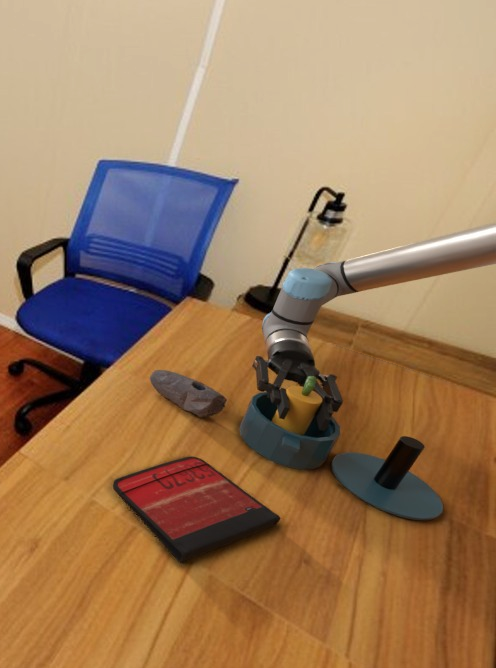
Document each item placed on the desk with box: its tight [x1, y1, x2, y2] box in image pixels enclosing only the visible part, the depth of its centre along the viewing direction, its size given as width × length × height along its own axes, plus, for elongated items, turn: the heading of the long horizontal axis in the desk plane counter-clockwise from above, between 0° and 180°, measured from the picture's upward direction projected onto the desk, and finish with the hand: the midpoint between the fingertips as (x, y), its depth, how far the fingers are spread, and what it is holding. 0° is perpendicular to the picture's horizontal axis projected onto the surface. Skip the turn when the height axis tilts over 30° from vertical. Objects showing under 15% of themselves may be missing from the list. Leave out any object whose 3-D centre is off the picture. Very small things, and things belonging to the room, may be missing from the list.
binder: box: [112, 456, 281, 563], centre depth 88 cm, size 16×2×21 cm
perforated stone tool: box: [149, 369, 228, 418], centre depth 111 cm, size 15×5×7 cm, turn 29°
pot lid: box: [330, 435, 444, 521], centre depth 89 cm, size 15×15×11 cm
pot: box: [238, 391, 342, 471], centre depth 100 cm, size 14×19×8 cm
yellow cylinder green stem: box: [271, 376, 322, 436], centre depth 97 cm, size 5×5×13 cm
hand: (304, 419), depth 93 cm, fingers closed on yellow cylinder green stem, 5 cm apart
